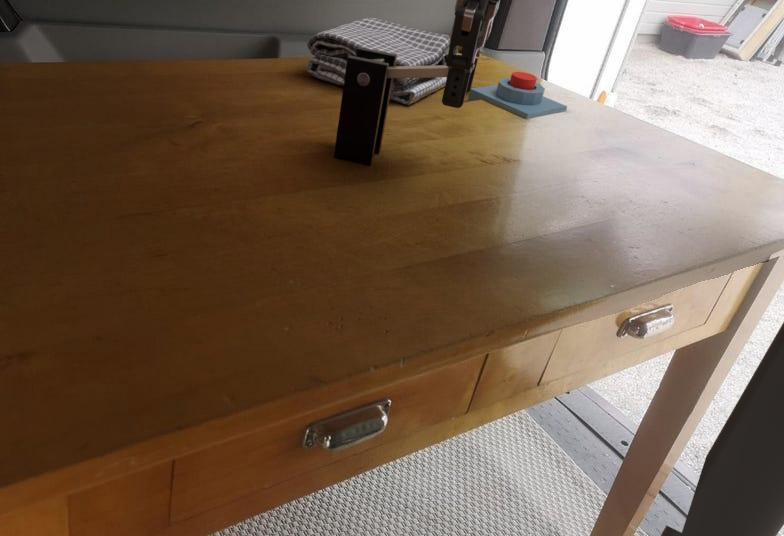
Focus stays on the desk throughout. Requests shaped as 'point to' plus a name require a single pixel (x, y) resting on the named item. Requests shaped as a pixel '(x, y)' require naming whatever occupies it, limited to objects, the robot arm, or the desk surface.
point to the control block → (517, 99)
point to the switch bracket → (364, 106)
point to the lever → (416, 71)
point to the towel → (383, 37)
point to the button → (523, 80)
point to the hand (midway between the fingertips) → (456, 97)
